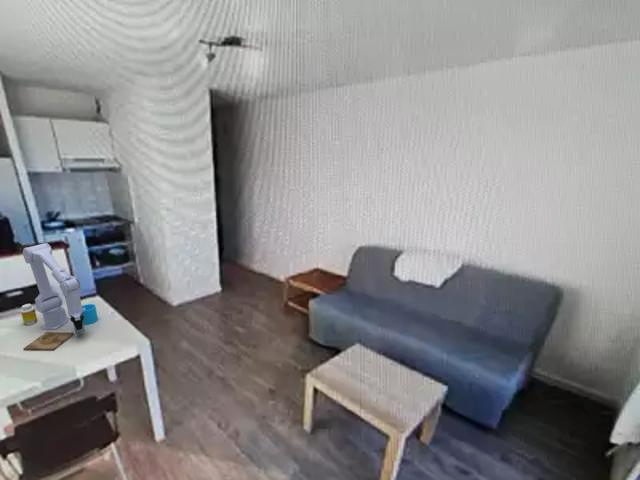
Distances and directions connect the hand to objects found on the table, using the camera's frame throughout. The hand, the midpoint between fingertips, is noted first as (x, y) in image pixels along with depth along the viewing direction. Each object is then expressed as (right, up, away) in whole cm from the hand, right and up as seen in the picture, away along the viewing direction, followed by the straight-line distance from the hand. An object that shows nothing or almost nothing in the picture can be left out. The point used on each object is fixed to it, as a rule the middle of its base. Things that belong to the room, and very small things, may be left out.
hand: (79, 327), depth 174 cm
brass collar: (-11, -6, -4) cm, 13 cm away
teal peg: (0, -2, +1) cm, 2 cm away
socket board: (-11, -6, -4) cm, 13 cm away
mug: (-6, 0, +16) cm, 17 cm away
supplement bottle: (-34, -1, +12) cm, 36 cm away
